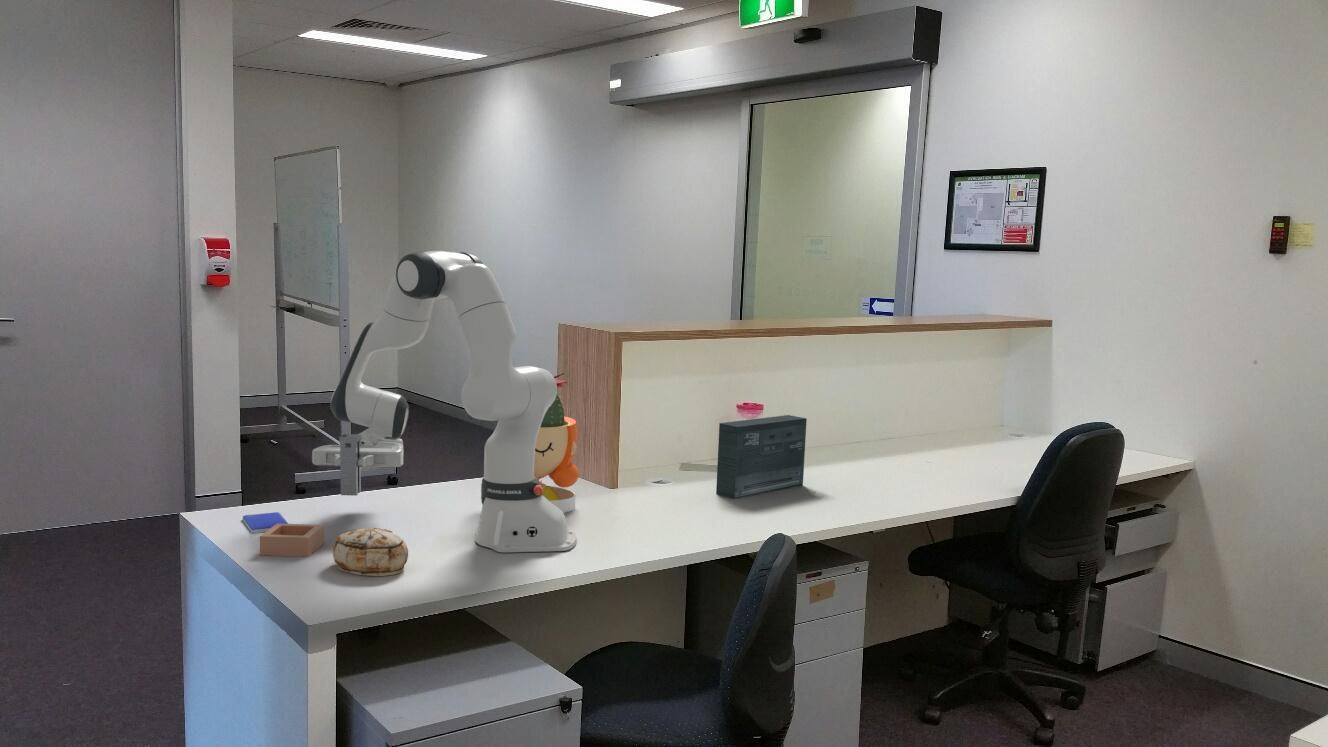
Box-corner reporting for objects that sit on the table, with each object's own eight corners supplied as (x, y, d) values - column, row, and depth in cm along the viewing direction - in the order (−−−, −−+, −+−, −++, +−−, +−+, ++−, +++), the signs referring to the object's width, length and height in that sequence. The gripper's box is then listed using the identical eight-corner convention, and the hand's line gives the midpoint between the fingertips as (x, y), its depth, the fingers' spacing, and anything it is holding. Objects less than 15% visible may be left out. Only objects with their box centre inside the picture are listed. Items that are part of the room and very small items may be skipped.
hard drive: (242, 515, 232) (252, 528, 221) (279, 511, 236) (290, 524, 226) (242, 521, 232) (252, 535, 221) (279, 518, 236) (290, 531, 226)
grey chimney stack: (361, 491, 226) (361, 434, 224) (356, 495, 222) (356, 437, 221) (344, 491, 226) (344, 434, 224) (339, 495, 222) (339, 437, 221)
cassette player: (784, 481, 296) (788, 415, 294) (802, 486, 291) (806, 418, 289) (716, 494, 276) (719, 423, 274) (734, 499, 271) (737, 426, 269)
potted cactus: (562, 517, 245) (566, 376, 241) (479, 508, 251) (482, 370, 246) (591, 498, 266) (595, 367, 262) (514, 490, 271) (517, 362, 267)
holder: (323, 542, 216) (323, 524, 216) (308, 556, 206) (308, 537, 206) (277, 541, 216) (277, 523, 215) (259, 555, 206) (259, 536, 206)
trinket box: (405, 578, 196) (405, 539, 195) (325, 579, 193) (325, 540, 192) (411, 558, 209) (412, 521, 208) (337, 558, 206) (337, 521, 205)
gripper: (322, 437, 235) (302, 447, 222) (409, 438, 236) (394, 449, 222) (322, 463, 236) (302, 475, 222) (409, 465, 237) (394, 477, 223)
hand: (349, 462), depth 222 cm, fingers closed on grey chimney stack, 3 cm apart
